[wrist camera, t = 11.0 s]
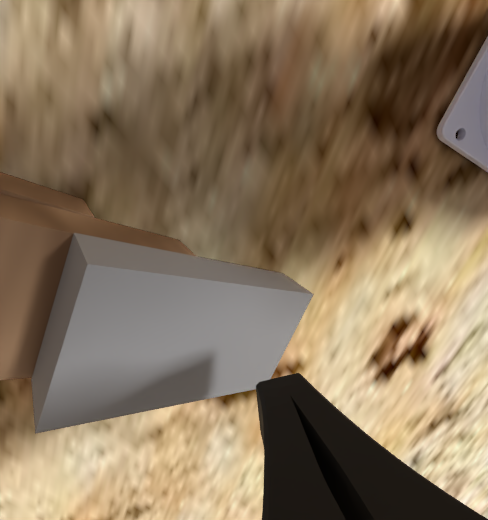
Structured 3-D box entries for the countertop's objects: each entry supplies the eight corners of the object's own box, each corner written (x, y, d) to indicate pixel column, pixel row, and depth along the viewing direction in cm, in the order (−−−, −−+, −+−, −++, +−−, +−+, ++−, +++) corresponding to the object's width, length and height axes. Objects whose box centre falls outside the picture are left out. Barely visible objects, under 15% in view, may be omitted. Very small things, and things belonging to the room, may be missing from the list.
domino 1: (201, 261, 11) (-236, 166, 5) (153, 367, 12) (-257, 402, 6) (179, 239, 12) (-183, 145, 6) (137, 337, 14) (-208, 339, 7)
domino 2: (313, 294, 13) (87, 263, 7) (266, 386, 14) (35, 433, 8) (282, 273, 14) (74, 232, 8) (242, 358, 15) (31, 379, 9)
